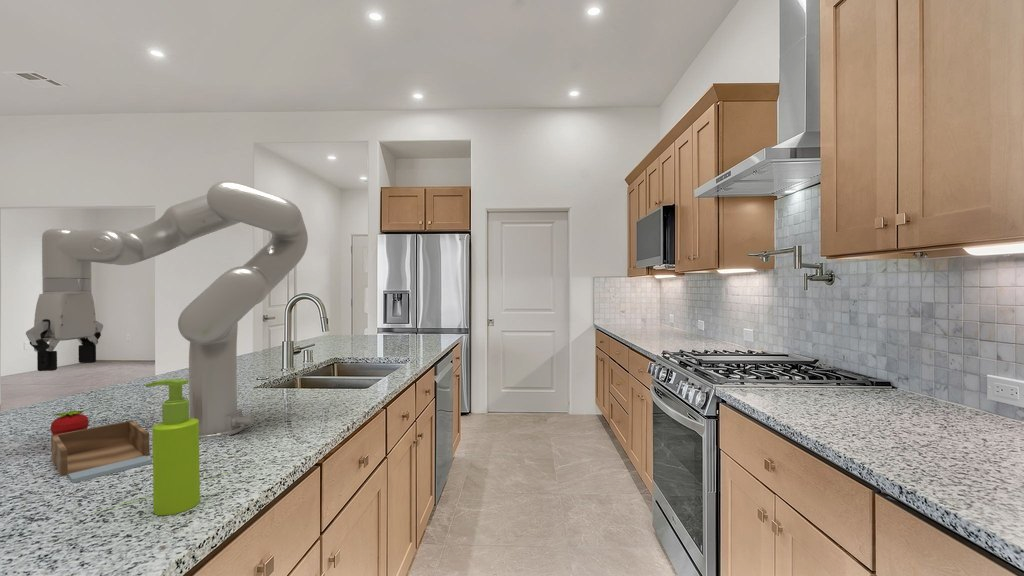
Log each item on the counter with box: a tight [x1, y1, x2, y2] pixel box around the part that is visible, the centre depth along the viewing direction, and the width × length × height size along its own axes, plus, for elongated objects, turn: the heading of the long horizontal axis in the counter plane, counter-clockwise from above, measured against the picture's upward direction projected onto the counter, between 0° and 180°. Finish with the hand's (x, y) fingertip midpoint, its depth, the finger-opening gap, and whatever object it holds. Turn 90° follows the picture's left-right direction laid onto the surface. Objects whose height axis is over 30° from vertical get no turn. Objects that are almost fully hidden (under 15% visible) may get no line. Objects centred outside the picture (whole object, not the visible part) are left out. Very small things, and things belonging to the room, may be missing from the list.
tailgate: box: [67, 455, 153, 484], centre depth 84 cm, size 1×11×5 cm
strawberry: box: [49, 403, 90, 435], centre depth 97 cm, size 6×8×10 cm
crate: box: [50, 420, 151, 477], centre depth 90 cm, size 14×13×6 cm
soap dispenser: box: [144, 378, 201, 516], centre depth 71 cm, size 6×7×20 cm
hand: (68, 366), depth 96 cm, fingers open, 9 cm apart
